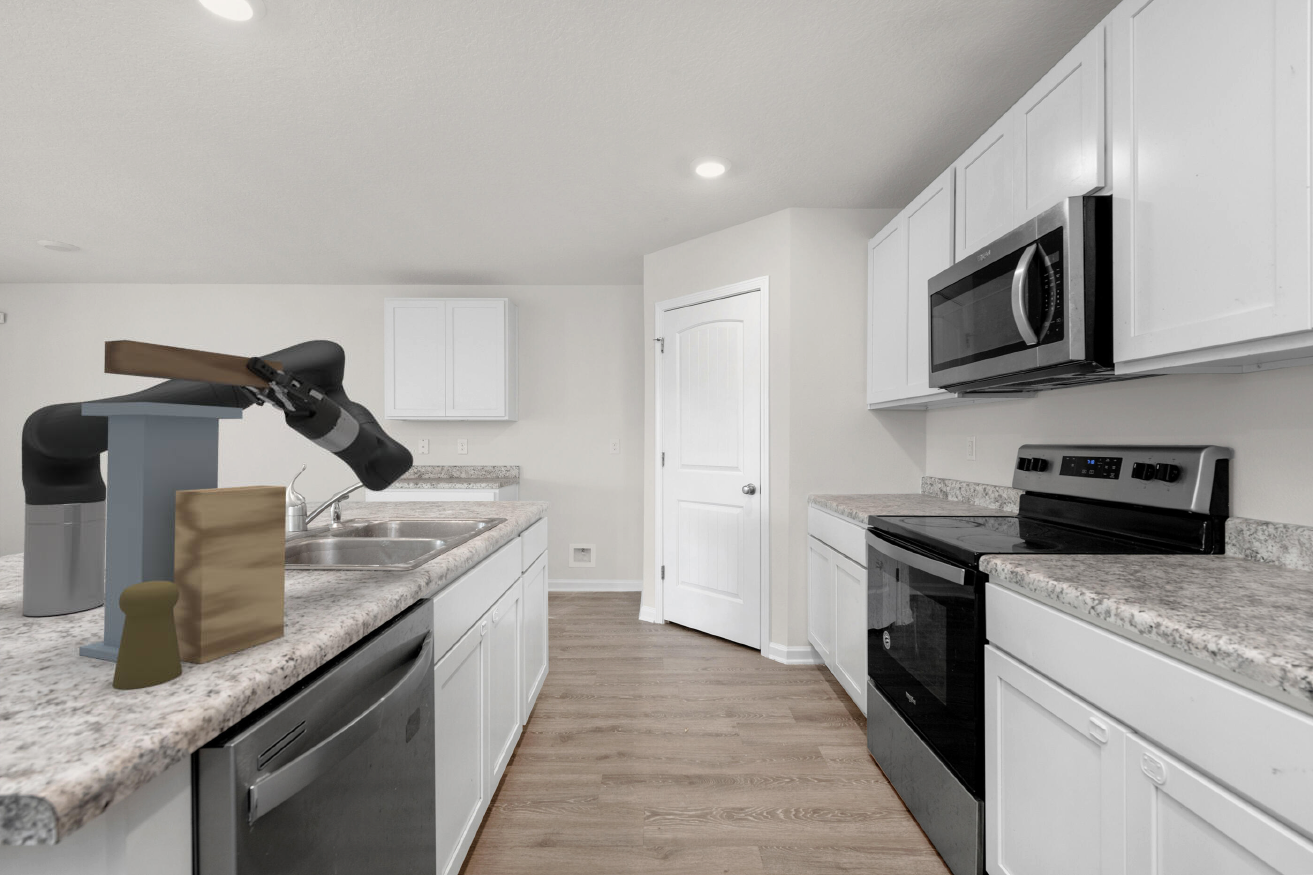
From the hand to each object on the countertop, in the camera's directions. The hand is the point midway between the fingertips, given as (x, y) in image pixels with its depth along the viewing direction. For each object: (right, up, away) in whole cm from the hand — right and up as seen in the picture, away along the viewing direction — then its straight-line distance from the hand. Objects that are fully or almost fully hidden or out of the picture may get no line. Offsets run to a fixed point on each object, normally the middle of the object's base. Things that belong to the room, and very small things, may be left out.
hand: (240, 362), depth 87 cm
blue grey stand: (-3, -39, -10) cm, 41 cm away
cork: (+4, -39, -21) cm, 45 cm away
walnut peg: (-2, -3, -5) cm, 6 cm away
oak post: (+6, -39, -10) cm, 41 cm away
